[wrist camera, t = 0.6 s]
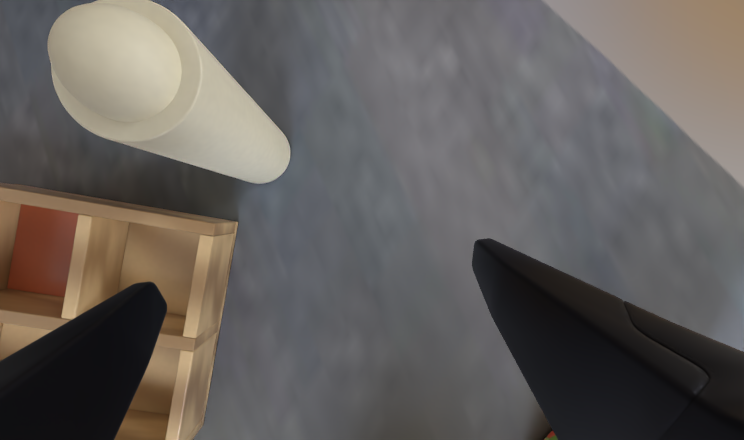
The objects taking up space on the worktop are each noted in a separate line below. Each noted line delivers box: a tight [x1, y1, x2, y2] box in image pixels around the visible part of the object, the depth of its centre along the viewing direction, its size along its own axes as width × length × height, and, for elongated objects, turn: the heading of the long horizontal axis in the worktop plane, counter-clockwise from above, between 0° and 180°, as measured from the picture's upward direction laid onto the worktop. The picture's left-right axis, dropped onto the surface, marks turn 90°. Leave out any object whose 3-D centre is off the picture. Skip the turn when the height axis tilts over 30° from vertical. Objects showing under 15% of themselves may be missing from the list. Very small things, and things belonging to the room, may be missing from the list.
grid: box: [0, 183, 238, 440], centre depth 19 cm, size 15×15×3 cm
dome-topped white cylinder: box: [48, 0, 290, 184], centre depth 14 cm, size 4×4×14 cm
